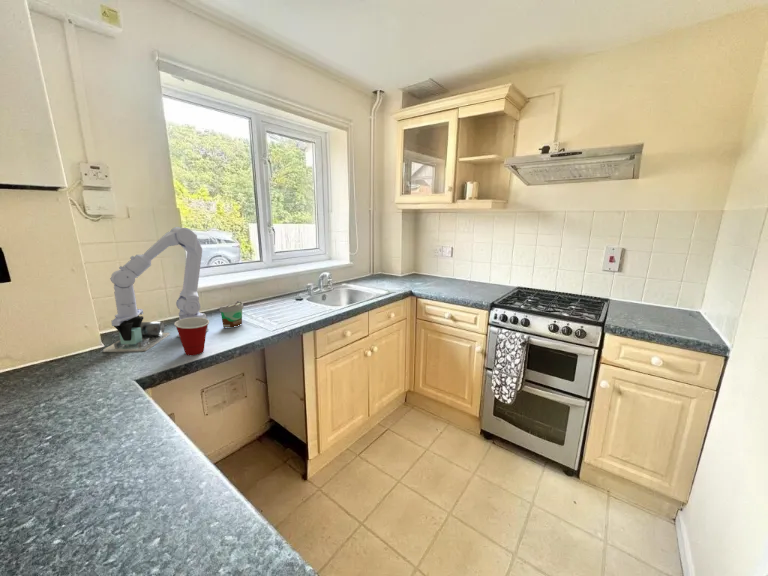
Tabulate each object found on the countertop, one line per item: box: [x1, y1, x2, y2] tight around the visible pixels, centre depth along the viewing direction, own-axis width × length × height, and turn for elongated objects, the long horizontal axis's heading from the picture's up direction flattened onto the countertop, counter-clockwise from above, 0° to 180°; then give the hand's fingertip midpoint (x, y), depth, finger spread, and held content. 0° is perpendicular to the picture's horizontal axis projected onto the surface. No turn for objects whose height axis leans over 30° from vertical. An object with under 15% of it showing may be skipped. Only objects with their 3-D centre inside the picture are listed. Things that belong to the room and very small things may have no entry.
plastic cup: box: [174, 317, 210, 356], centre depth 114 cm, size 11×11×12 cm
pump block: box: [118, 327, 142, 344], centre depth 118 cm, size 5×4×5 cm
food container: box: [219, 300, 245, 328], centre depth 144 cm, size 12×6×10 cm, turn 168°
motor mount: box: [102, 321, 171, 353], centre depth 122 cm, size 14×16×7 cm
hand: (131, 338), depth 118 cm, fingers closed on pump block, 4 cm apart
